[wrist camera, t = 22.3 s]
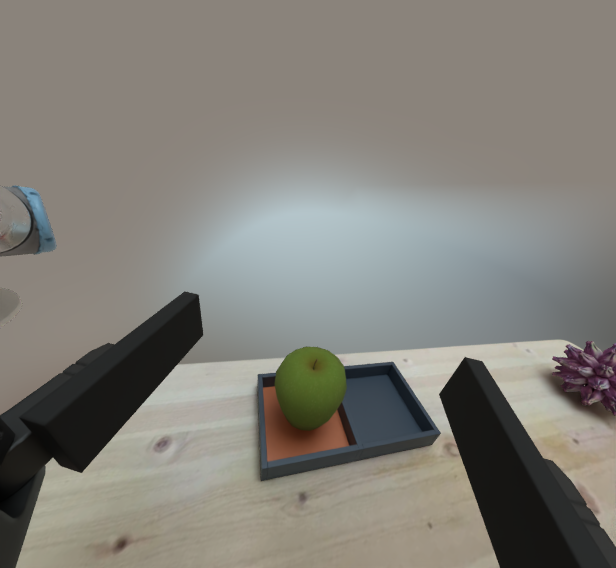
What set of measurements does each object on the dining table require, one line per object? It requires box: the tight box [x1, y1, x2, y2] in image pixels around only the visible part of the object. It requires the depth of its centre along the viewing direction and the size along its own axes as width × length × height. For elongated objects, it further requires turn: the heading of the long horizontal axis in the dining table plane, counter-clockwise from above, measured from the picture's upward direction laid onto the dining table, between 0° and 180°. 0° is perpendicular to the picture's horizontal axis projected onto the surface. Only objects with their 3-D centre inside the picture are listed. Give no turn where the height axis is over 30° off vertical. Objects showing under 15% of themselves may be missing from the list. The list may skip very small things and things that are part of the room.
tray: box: [257, 362, 441, 481], centre depth 32 cm, size 23×12×3 cm, turn 103°
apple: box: [275, 347, 347, 431], centre depth 28 cm, size 9×8×12 cm
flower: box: [552, 341, 616, 416], centre depth 39 cm, size 12×12×12 cm
